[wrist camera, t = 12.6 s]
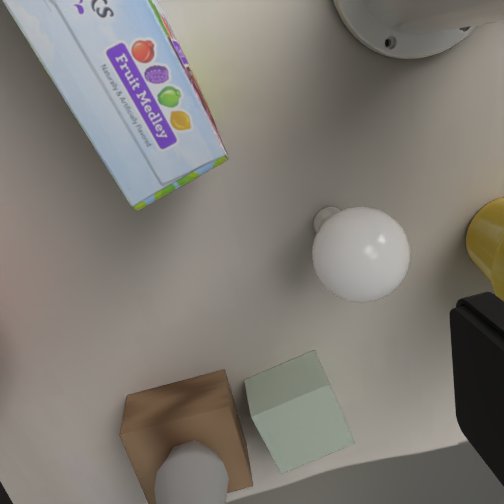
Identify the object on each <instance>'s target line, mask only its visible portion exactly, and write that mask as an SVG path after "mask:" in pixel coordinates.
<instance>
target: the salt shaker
mask: <svg viewBox="0 0 504 504" xmlns="http://www.w3.org/2000/svg"><path fill="white" fill-rule="evenodd" d="M228 482H229V477H228V474H227V471H226V468H225V466H224V463H223V461H222V460H221V458H220V457H219V456H218V454H217V453H216V452H215V450H214V449H213V448H211V447H209V446H207V445H205V444H202V443H200V442H198V441H196V440H193V441H190V442H186V443H183V444H180V445H177V446H174V447H173V448H172V450H171V452H170V454H169V455H168V457H167V459H166V460H165V462H164V463H163V464H162V466H161V467H160V468H159V470H158V471H157V474H156V480H155V488H154V490H155V498H156V504H226V496H227V489H228Z"/></svg>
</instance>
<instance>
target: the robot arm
mask: <svg viewBox="0 0 504 504" xmlns="http://www.w3.org/2000/svg"><path fill="white" fill-rule="evenodd" d="M333 1H334V5H335V7H336V9H337V11H338V13H339V15H340V17H341V19H342V21H343V23H344V24H345V25H346V27H347V28H348V29H349V31H350V32H351V34H352V35H353V36H354V37H356V38H357V39H358V40H359V41H360V42H361V43H362V44H363V45H364V46H366V47H368V48H370V49H371V50H373V51H375V52H377V53H379V54H382V55H385V56H388V57H391V58H400V59H415V58H424V57H428V56H432V55H436V54H439V53H441V52H443V51H445V50H447V49H449V48H452V47H453V46H455V45H456V44H457V43H459V42H460V41H462V40H463V39H465V38H466V37H467V36H468V35H469V34H470V33H471V32H472V31H473V30H474V29H475V28H476V27H477V26H478V25H481V24H487V23H493V22H499V21H504V0H333ZM386 39H387V40H388V42H389V45H388V46H387V47H386V46H385V40H386ZM450 330H451V345H452V360H453V376H454V391H455V406H456V417H457V421H458V424H459V426H460V428H461V430H462V432H463V434H464V435H465V437H466V438H467V439H468V440H469V442H470V443H471V444H472V446H473V447H474V448H475V449H476V451H477V452H478V453H479V455H480V456H481V457H482V459H483V460H484V461H485V463H486V464H487V465H488V467H489V468H490V469H491V470H492V472H493V473H494V474H495V476H496V477H497V478H498V480H499V481H500V482H501V483H502V485H503V486H504V301H502V300H501V299H500V298H498V297H497V296H496V295H494V294H492V293H490V292H485V293H481V294H477V295H473V296H470V297H466V298H462V299H460V300H458V302H457V305H456V308H454V309H452V310H451V311H450ZM0 504H13V503H12V501H11V499H10V498H9V496H8V494H7V492H6V491H5V489H4V487H3V485H2V484H1V482H0Z"/></svg>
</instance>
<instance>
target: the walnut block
mask: <svg viewBox="0 0 504 504" xmlns="http://www.w3.org/2000/svg"><path fill="white" fill-rule="evenodd" d="M120 438H121V440H122V442H123V445H124V447H125V449H126V452H127V454H128V456H129V459H130V461H131V463H132V466H133V468H134V471H135V473H136V475H137V478H138V480H139V482H140V485H141V487H142V489H143V492H144V494H145V496H146V499H147V501H148V503H149V504H156V498H155V490H154V488H155V480H156V474H157V471H158V470H159V468H160V467H161V466H162V464H163V463H164V462H165V460H166V459H167V457H168V455H169V454H170V452H171V450H172V448H173V447H174V446H177V445H180V444H183V443H186V442H190V441H193V440H196V441H198V442H200V443H202V444H205V445H207V446H209V447H211V448H213V449H214V450H215V452H216V453H217V454H218V456H219V457H220V458H221V460H222V461H223V463H224V466H225V468H226V471H227V474H228V477H229V482H228V489H227V493H229V492H233V491H237V490H240V489H244V488H247V487H251V486H253V482H252V476H251V470H250V463H249V457H248V451H247V445H246V441H245V437H244V434H243V431H242V427H241V424H240V420H239V417H238V414H237V410H236V407H235V403H234V400H233V396H232V393H231V390H230V386H229V383H228V379H227V376H226V373H225V370H221V371H217V372H213V373H209V374H206V375H202V376H198V377H194V378H191V379H187V380H183V381H179V382H175V383H172V384H168V385H164V386H160V387H157V388H153V389H149V390H145V391H141V392H138V393H134V394H130V395H127V398H126V404H125V409H124V414H123V420H122V425H121V431H120Z"/></svg>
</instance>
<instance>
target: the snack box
mask: <svg viewBox="0 0 504 504" xmlns="http://www.w3.org/2000/svg"><path fill="white" fill-rule="evenodd" d="M2 1H3V3H4V4H5V6H6V8H7V9H8V11H9V13H10V14H11V16H12V18H13V19H14V21H15V22H16V24H17V26H18V27H19V29H20V30H21V32H22V33H23V35H24V37H25V38H26V40H27V42H28V43H29V45H30V46H31V48H32V50H33V51H34V53H35V54H36V56H37V58H38V59H39V61H40V63H41V64H42V66H43V67H44V69H45V71H46V72H47V74H48V75H49V77H50V78H51V80H52V81H53V83H54V84H55V86H56V87H57V89H58V90H59V92H60V94H61V95H62V97H63V99H64V100H65V102H66V104H67V105H68V107H69V109H70V110H71V112H72V113H73V115H74V117H75V118H76V120H77V121H78V123H79V124H80V126H81V128H82V129H83V131H84V132H85V134H86V136H87V137H88V139H89V140H90V142H91V143H92V145H93V147H94V148H95V150H96V151H97V153H98V155H99V156H100V158H101V159H102V161H103V163H104V164H105V166H106V167H107V169H108V171H109V172H110V174H111V175H112V177H113V179H114V180H115V182H116V184H117V185H118V187H119V188H120V190H121V192H122V193H123V195H124V196H125V198H126V199H127V201H128V203H129V204H130V206H131V207H132V208H133V210H135V211H139V210H141V209H142V208H144V207H146V206H147V205H149V204H151V203H153V202H154V201H156V200H158V199H160V198H161V197H163V196H165V195H167V194H168V193H170V192H172V191H174V190H175V189H177V188H179V187H181V186H183V185H184V184H186V183H188V182H190V181H191V180H193V179H195V178H197V177H199V176H200V175H202V174H204V173H205V172H207V171H209V170H211V169H213V168H215V167H216V166H218V165H220V164H222V163H224V162H225V161H227V160H228V158H229V156H228V154H227V152H226V150H225V147H224V145H223V143H222V140H221V138H220V135H219V133H218V130H217V127H216V125H215V122H214V119H213V117H212V115H211V113H210V110H209V108H208V105H207V103H206V101H205V98H204V96H203V94H202V92H201V90H200V87H199V85H198V83H197V81H196V78H195V76H194V74H193V72H192V70H191V67H190V65H189V63H188V61H187V59H186V57H185V55H184V53H183V51H182V49H181V47H180V45H179V42H178V40H177V38H176V36H175V34H174V32H173V30H172V28H171V26H170V24H169V22H168V20H167V18H166V16H165V14H164V11H163V9H162V7H161V5H160V3H159V1H158V0H2Z"/></svg>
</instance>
